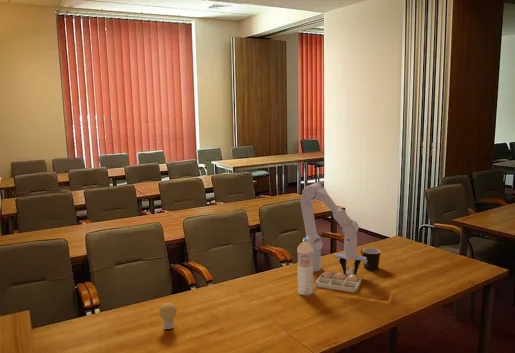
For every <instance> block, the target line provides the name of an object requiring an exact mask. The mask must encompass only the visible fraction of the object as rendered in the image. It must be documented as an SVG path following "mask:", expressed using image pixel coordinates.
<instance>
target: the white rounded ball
mask: <svg viewBox="0 0 515 353" xmlns="http://www.w3.org/2000/svg"><path fill="white" fill-rule="evenodd" d="M354 270H355V268H354V267H352V266H348V267H346V274H347V276H350V275H352V274H353V275H354Z"/></svg>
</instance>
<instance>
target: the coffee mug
mask: <svg viewBox="0 0 515 353" xmlns="http://www.w3.org/2000/svg"><path fill="white" fill-rule="evenodd" d="M360 254H361V255H360V256H363V257H366V262H363V268H364V269H365V270H366V271H377V270H378V269H379V263H380V258H381V257H380V256H381V250H380V249H379V248H374V247H365V248H363V249H361V250H360Z"/></svg>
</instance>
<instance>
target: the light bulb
mask: <svg viewBox="0 0 515 353" xmlns="http://www.w3.org/2000/svg"><path fill="white" fill-rule="evenodd" d="M177 311H178V310H177V307H176V305H175V304H173V303H172V302H166V303H163V304H162V305H161V306H160V307H159V311H158V312H159V315H160V316H159V317H160V318H161V319H162V320H163V329H164V330H166V329H171V328H172V329H174V327H175V324H174V319H175V317H176V315H177ZM172 329H171V330H172Z"/></svg>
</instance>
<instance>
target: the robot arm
mask: <svg viewBox="0 0 515 353" xmlns="http://www.w3.org/2000/svg"><path fill="white" fill-rule="evenodd" d="M299 201H300V206H301V207H300V208H301V214H302V219H303V224H304V230H305V231H304V232H305V235H306V236H305V238H307V242H308V243H309V244H311V246H312V247H313V272H320V271H321V270H322V269H321V267H322V264H321V263H322V260H321V259H322V257H321V256H322V254H321V250H322V249H323V247H324V243H323V241H322V239H321V236H320V235H319V234H318V232H317V227H316V226H317V225H316V220H315V214H314V207H313V202H314V201H321V202H322V203H323V204H324V205H325V206H326V207H327V208H328V209H329V210H330V211H331V212H332V217H333V218H334V220H335V221H336V222H337V223H338V225H339V226H340V227H341V228H342V230H341V231H342V234H343V235H344V237H343V238H344V244H343V245H344V247H343V251H344V252H343V253H335V254H334V259H335V260H336V259H337V260H338V259H339V261H338V262H339V264H340V265H341V267H342V271H343V272H342V273H343V274H344V275H345V274H346V269H347V261H354V262H353V264H354V267H353V268H354V275H356V276H357V274H358V269H359V266H360V264H361V262H363V263H364V262H366V257H363V256H362V255H358V254H357V250H358V247H357V246H358V233H357V232H358V231H359V228H360V226H359V224H358V222H357V221H355V220H353V219H352V218H351V217H350V216H349V215H348V214H347V211H346V210H345V209H343V208H340V207H338V206H337V204H336V203H335V202H334V200H333V199H332V197H331V196H330V195H329V194H328V191H327V190H326V188H325V187H324V186H323V185H322V184H321V183H320V182H314V183H312V184H309V185H306V186H305V187H304V188H303V189H302V194H301V196H300V200H299Z"/></svg>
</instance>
